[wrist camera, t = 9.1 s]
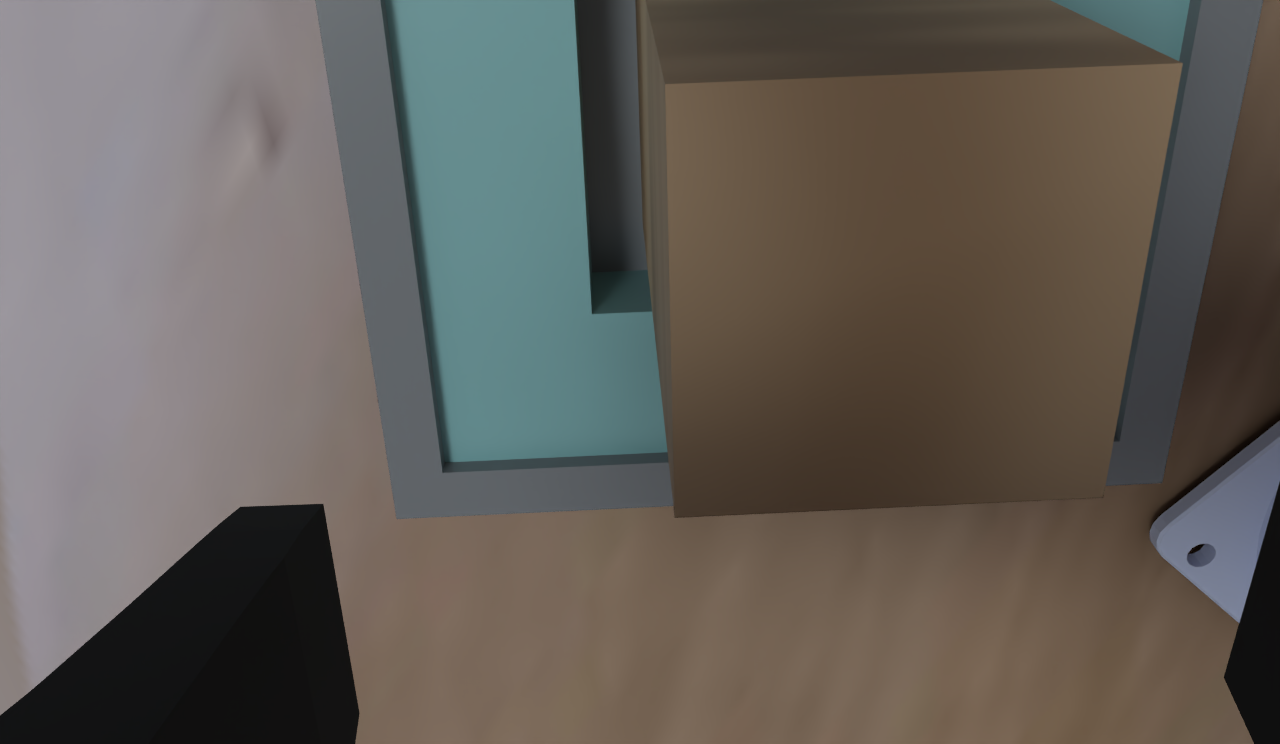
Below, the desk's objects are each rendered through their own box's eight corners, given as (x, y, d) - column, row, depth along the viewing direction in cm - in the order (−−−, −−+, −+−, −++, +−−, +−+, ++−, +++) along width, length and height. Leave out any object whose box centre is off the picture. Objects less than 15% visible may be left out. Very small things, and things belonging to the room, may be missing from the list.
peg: (920, -62, 16) (1183, 62, 9) (899, 212, 18) (1103, 497, 11) (633, -51, 16) (666, 83, 9) (642, 223, 18) (674, 517, 11)
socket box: (1240, -410, 15) (1356, -446, 12) (1099, 405, 20) (1162, 482, 18) (303, -379, 14) (251, -409, 12) (418, 437, 20) (396, 518, 18)
